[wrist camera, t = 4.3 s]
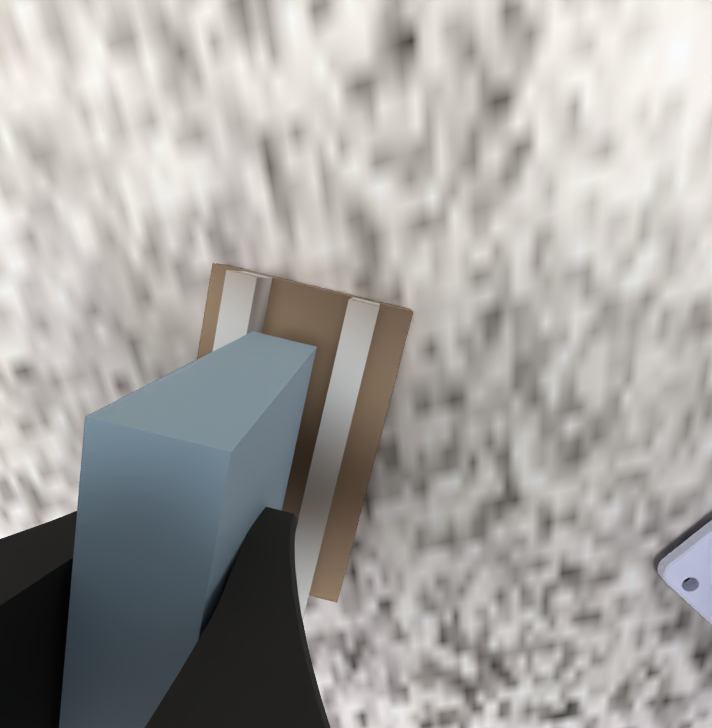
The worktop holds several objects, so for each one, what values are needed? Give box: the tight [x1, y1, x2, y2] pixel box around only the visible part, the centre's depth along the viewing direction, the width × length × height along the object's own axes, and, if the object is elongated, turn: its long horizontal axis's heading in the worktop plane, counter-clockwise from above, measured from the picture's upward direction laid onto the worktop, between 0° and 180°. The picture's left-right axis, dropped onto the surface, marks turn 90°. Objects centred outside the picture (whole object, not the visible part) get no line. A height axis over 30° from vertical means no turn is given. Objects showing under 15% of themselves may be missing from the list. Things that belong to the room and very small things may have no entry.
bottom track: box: [197, 263, 413, 620], centre depth 13 cm, size 10×6×3 cm, turn 167°
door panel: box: [59, 331, 317, 728], centre depth 8 cm, size 8×2×6 cm, turn 167°
